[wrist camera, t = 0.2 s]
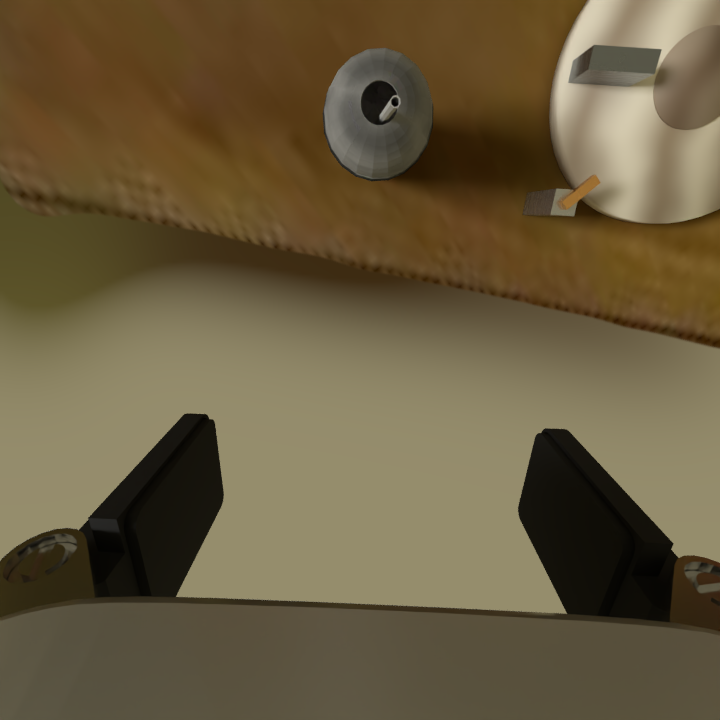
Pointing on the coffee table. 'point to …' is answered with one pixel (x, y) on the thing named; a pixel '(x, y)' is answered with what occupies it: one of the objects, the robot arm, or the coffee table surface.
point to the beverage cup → (378, 114)
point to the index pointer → (558, 199)
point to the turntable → (641, 108)
